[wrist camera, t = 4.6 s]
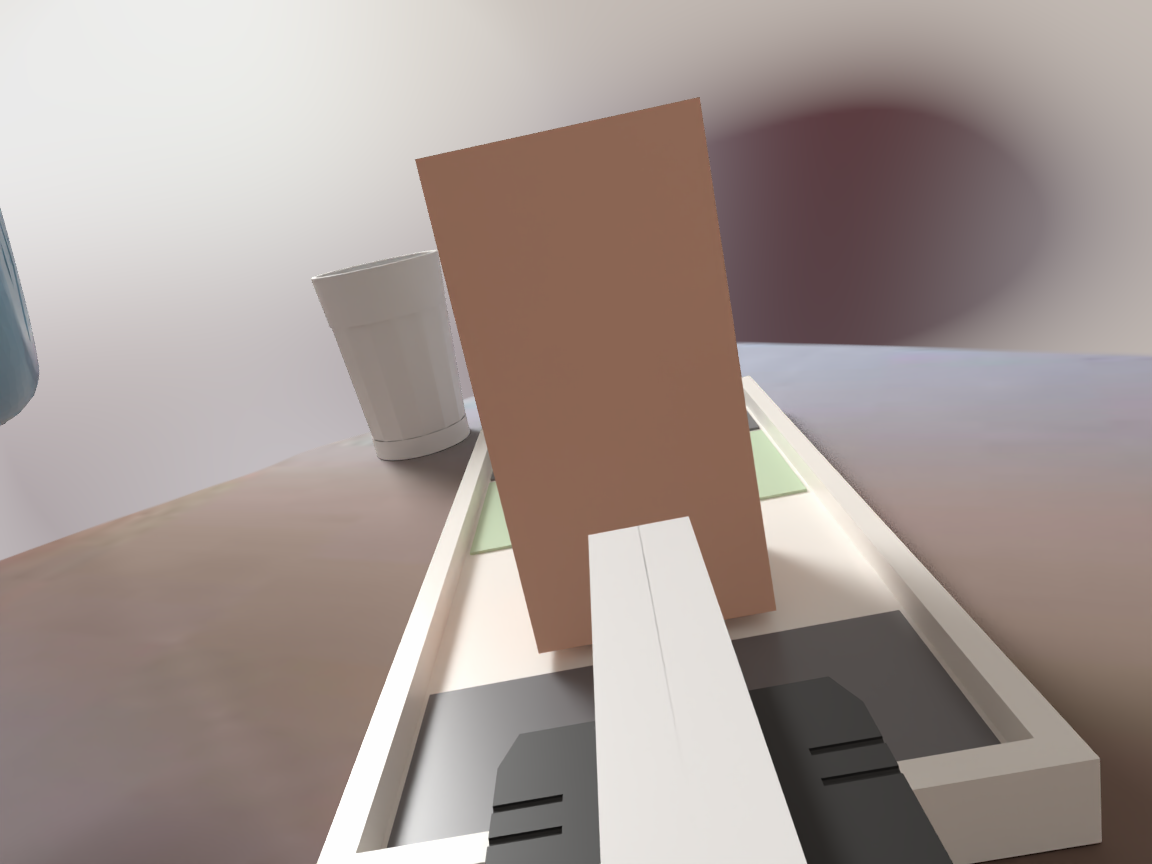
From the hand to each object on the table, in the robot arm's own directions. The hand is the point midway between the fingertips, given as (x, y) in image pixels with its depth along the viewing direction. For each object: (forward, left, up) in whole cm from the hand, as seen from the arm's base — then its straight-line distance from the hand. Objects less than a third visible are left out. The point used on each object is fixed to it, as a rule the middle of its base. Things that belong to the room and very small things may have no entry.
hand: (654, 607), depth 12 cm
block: (0, +13, -6) cm, 15 cm away
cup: (-13, +41, -8) cm, 44 cm away
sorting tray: (0, +18, -8) cm, 20 cm away
